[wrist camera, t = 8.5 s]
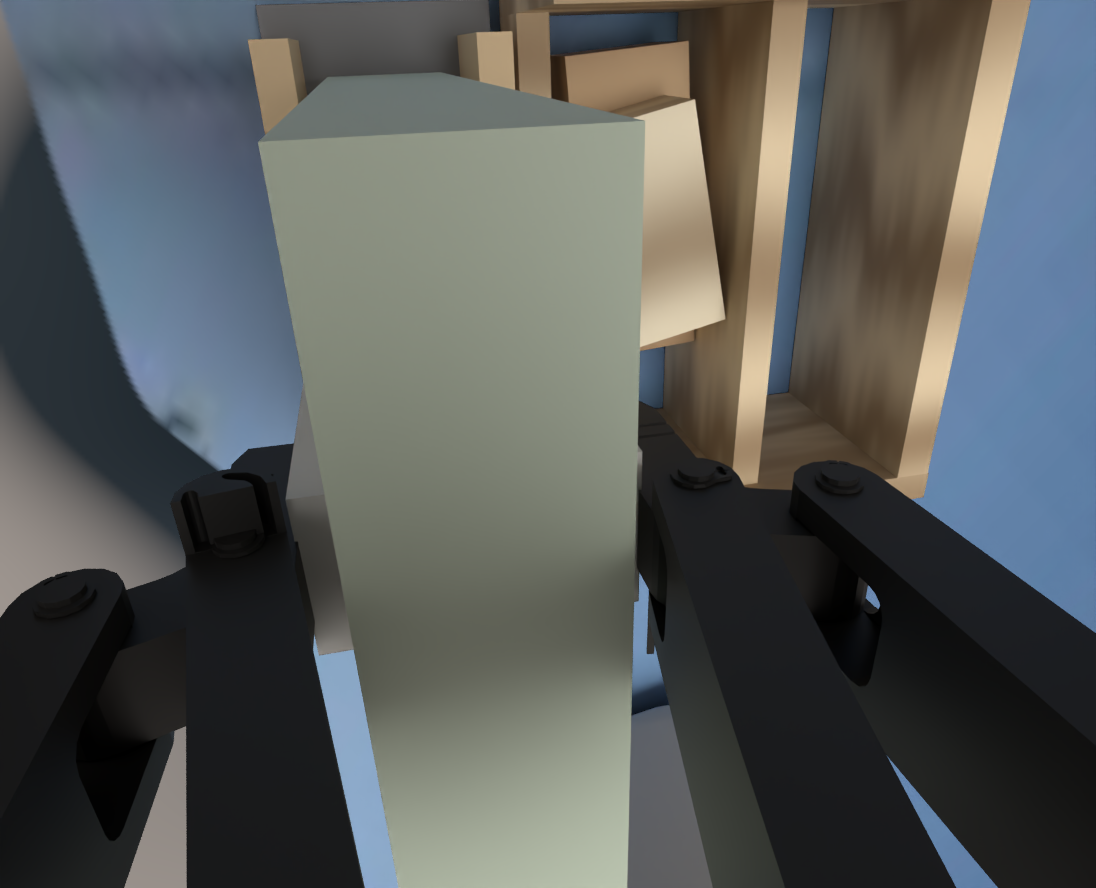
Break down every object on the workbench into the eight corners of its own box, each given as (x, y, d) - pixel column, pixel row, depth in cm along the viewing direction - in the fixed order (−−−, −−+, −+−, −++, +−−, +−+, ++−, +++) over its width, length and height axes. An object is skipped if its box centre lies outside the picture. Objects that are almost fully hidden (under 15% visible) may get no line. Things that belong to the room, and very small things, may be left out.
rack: (497, -18, 25) (552, -45, 18) (869, -26, 28) (1043, -52, 21) (522, 447, 33) (567, 552, 26) (811, 409, 35) (923, 497, 28)
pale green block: (327, 77, 24) (258, 141, 7) (440, 72, 25) (645, 120, 7) (378, 425, 30) (412, 960, 12) (469, 414, 30) (626, 908, 13)
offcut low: (541, 56, 27) (565, 56, 24) (651, 42, 27) (688, 40, 24) (567, 330, 32) (591, 360, 28) (661, 313, 32) (694, 340, 29)
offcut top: (561, 125, 25) (582, 133, 22) (664, 95, 25) (694, 99, 23) (606, 327, 28) (628, 351, 26) (696, 298, 28) (725, 319, 26)
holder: (256, 5, 24) (235, -5, 20) (486, 0, 25) (514, -11, 21) (336, 460, 31) (334, 525, 27) (512, 437, 33) (536, 496, 28)
